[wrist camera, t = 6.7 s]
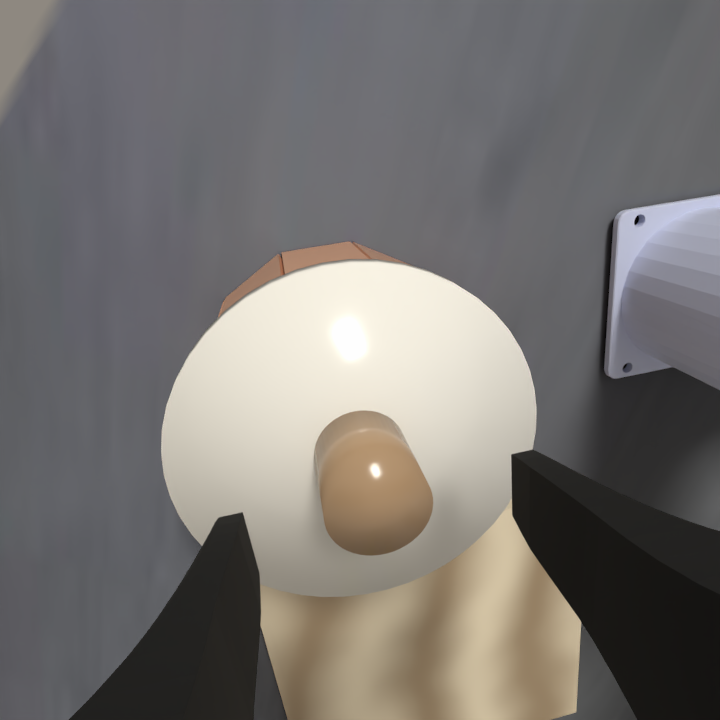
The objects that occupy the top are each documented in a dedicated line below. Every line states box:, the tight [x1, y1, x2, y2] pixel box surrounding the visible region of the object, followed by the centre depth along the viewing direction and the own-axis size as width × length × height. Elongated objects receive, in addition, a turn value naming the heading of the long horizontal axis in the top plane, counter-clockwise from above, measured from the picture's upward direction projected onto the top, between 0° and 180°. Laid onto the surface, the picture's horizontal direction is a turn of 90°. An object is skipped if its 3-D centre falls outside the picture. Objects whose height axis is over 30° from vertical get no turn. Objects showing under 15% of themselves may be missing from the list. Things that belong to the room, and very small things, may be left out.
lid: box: [161, 259, 537, 597], centre depth 16 cm, size 13×13×4 cm
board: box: [260, 499, 581, 720], centre depth 29 cm, size 18×18×1 cm
